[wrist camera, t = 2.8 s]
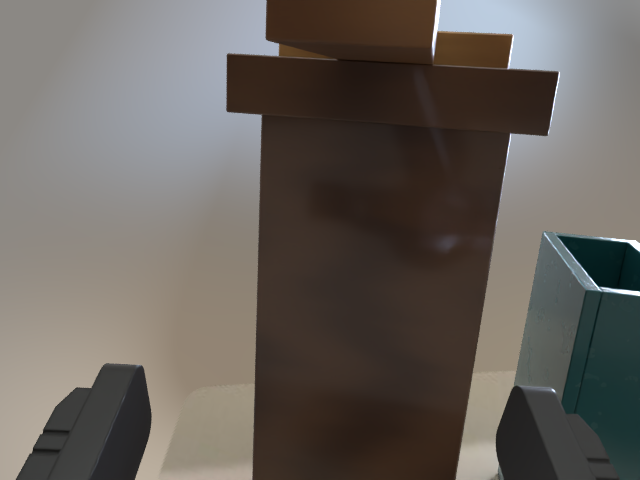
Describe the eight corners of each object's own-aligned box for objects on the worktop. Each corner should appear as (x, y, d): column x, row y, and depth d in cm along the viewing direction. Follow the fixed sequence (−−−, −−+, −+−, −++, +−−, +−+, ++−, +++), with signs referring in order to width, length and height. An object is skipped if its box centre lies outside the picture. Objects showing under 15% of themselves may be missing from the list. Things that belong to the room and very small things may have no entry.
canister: (518, 598, 34) (586, 289, 28) (497, 470, 46) (542, 230, 39) (625, 621, 33) (720, 306, 27) (576, 485, 44) (636, 240, 38)
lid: (140, 34, 11) (137, -90, 10) (339, 68, 33) (342, 31, 33) (584, 56, 9) (611, -87, 9) (477, 76, 32) (483, 37, 31)
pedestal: (222, 698, 28) (226, 53, 18) (299, 474, 44) (322, 67, 34) (435, 759, 26) (560, 71, 17) (435, 501, 42) (498, 77, 33)
